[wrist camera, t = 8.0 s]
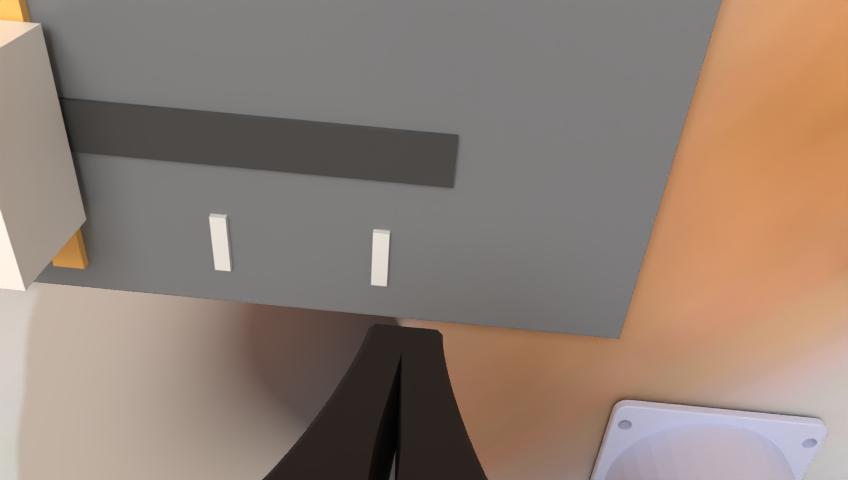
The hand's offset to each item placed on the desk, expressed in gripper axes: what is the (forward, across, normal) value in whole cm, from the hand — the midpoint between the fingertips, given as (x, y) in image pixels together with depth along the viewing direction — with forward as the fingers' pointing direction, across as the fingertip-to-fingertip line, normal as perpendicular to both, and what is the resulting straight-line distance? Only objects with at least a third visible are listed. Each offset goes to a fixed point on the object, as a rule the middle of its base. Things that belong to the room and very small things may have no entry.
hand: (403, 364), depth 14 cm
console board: (+9, +7, -1) cm, 12 cm away
